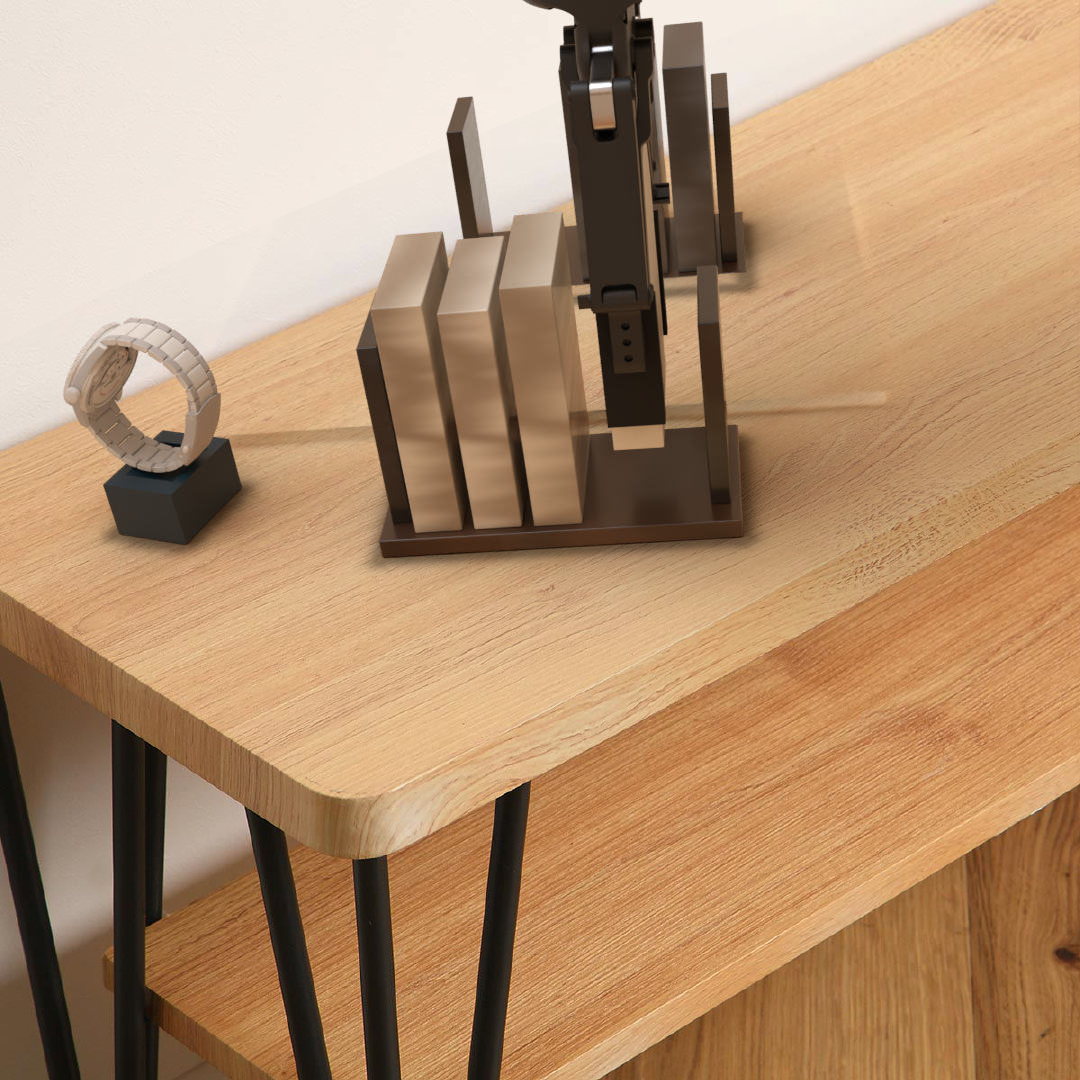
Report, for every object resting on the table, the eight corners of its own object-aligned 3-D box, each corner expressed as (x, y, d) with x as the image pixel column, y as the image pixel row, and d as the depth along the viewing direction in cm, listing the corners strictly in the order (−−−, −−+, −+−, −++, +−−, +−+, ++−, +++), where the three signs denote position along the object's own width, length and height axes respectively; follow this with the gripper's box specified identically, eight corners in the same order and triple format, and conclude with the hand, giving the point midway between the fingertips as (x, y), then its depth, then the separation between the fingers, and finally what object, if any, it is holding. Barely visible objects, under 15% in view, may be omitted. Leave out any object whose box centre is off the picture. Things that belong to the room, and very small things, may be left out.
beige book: (666, 365, 83) (645, 121, 76) (664, 447, 77) (641, 190, 70) (619, 368, 84) (594, 126, 76) (613, 450, 77) (586, 195, 70)
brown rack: (738, 439, 86) (723, 193, 78) (743, 537, 79) (727, 275, 71) (406, 461, 89) (359, 224, 81) (381, 557, 81) (327, 307, 73)
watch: (148, 473, 91) (93, 297, 85) (269, 491, 88) (221, 309, 82) (88, 529, 87) (26, 348, 81) (213, 550, 84) (158, 363, 77)
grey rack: (743, 225, 108) (731, 7, 100) (747, 285, 101) (734, 56, 93) (477, 247, 110) (443, 35, 102) (462, 307, 103) (425, 85, 95)
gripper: (523, -158, 75) (574, 285, 88) (476, -26, 58) (548, 498, 71) (685, -176, 74) (713, 275, 87) (685, -47, 57) (719, 489, 70)
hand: (639, 375), depth 79 cm, fingers closed on beige book, 8 cm apart
